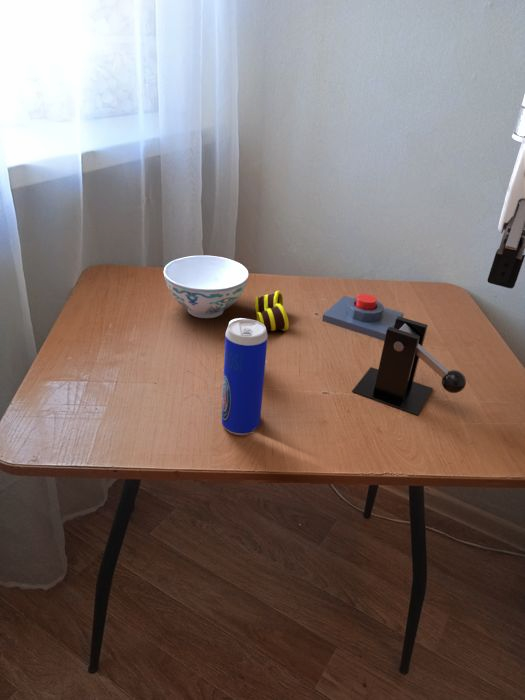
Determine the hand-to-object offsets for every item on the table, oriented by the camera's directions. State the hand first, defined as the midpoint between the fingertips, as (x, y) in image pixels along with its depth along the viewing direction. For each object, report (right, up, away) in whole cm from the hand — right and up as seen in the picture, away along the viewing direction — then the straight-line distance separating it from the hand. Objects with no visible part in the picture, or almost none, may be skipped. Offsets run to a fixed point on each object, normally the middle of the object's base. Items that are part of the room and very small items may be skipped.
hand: (500, 283), depth 70 cm
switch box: (-11, -4, +33) cm, 35 cm away
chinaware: (-40, -1, +34) cm, 53 cm away
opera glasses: (-29, -4, +31) cm, 42 cm away
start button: (-11, -1, +32) cm, 33 cm away
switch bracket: (-10, -15, +14) cm, 23 cm away
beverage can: (-33, -19, +6) cm, 38 cm away
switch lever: (-7, -11, +10) cm, 16 cm away
